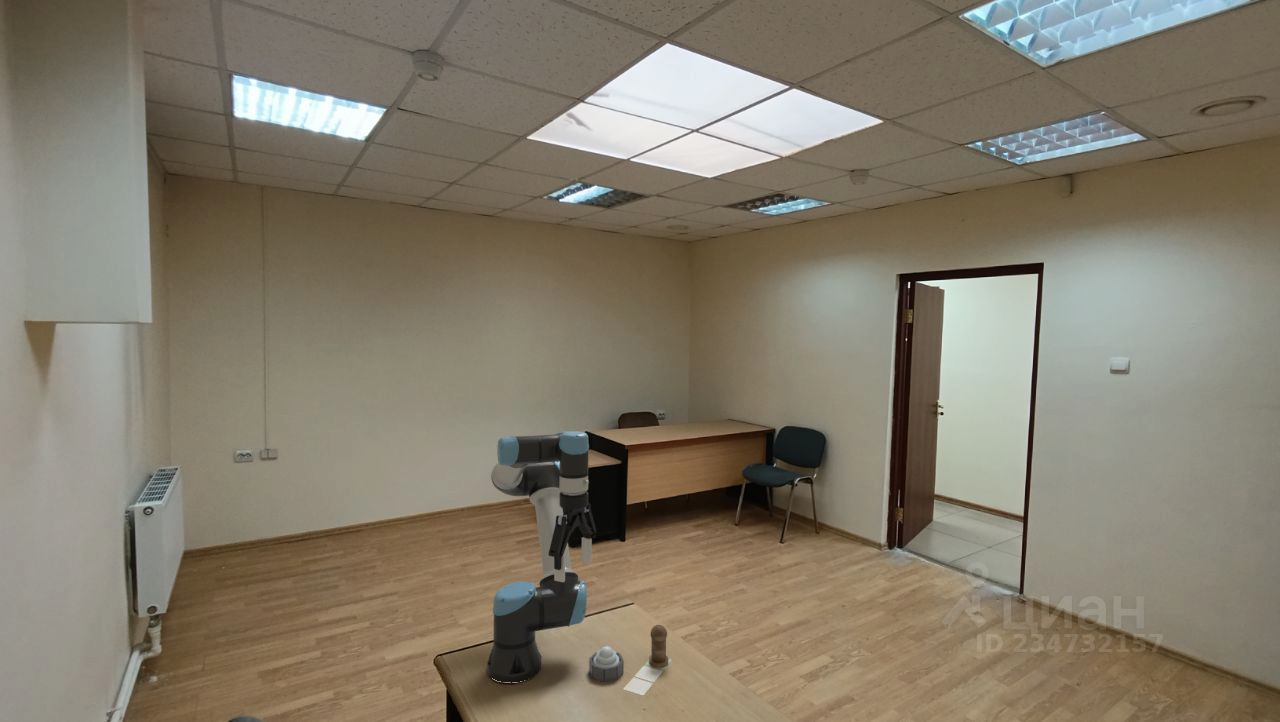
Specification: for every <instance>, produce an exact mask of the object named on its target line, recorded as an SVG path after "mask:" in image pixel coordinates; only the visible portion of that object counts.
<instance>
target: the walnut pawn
mask: <svg viewBox="0 0 1280 722" xmlns="http://www.w3.org/2000/svg"><path fill="white" fill-rule="evenodd" d="M667 637H668V632H667V629H666V627H665V626H664V625H662V624H656V625H654V626H652V628H651V630H650V638H651V644H650V645H651V655H650V656H648V660H649V664H650V665H651V666H653V667H652V668H654V667H656V668H655V669H658V668H662V667H665V666H667V665H668V666H669V664H668V658H669V657H668V656H667ZM651 666H650V667H651ZM668 666H667V667H668Z"/></svg>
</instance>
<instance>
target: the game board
mask: <svg viewBox="0 0 1280 722" xmlns="http://www.w3.org/2000/svg"><path fill="white" fill-rule="evenodd" d="M672 661H673V659H671V658H669V657H668V665H667V666H665V667H662V668H656V667H653V666H651V665H650V664H649V659H648V660H647V662H645V664H644V665H643V666H642V667H641V668H640V669H639V670H638V671H637V672H636V674H635V675H634V677H633V678H632V679H630V681H629V682H628V683H626V685H625V686H624V688H622V690H623V691H624V690H625V691H627V692H630V693H633V694H635V695H640V696H644V695H645V694H646V693H647V692H648V690H650V688H651V687H652V686H653V685H654V683H656V681H657V680H658V678H659V677H660V675H662V673H663V672H664V671H665V669H666V668H667V667H668V666H669V665H670V663H671V662H672Z"/></svg>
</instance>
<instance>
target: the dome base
mask: <svg viewBox="0 0 1280 722" xmlns="http://www.w3.org/2000/svg"><path fill="white" fill-rule="evenodd" d="M615 652H616V655H618V657H619V663H618V664H617V665H616V666H612V667H607V668H603V667H600V666H596V665H594V657H595V656H596V654H597V652H594V653H593V654H592V655H591V656H590V657H589V659H588V660H589V661H588V662H589V663H588V664H589V666H588V667H589V668H588V669H589V670H588V671H589V674H590V676H591V678H592V679H594V680H596V681H599V682H603V683H604V682H605V683H606V682H612V681H617V680H619V678H621V676H622V675H623V674H624V671H625V670H624V669H625V668H624V664H625V662H624V661H625V659H624V658H623V655H622V654H621V652H617V651H615Z"/></svg>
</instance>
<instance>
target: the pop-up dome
mask: <svg viewBox="0 0 1280 722" xmlns="http://www.w3.org/2000/svg"><path fill="white" fill-rule="evenodd" d="M616 652H617V651H615V649H612V647H610V645H609V646H608V645H606V646H603V647H601V649H599V650H597V652H596V653H597V654H596V656H595V657H594V665H596V666H600V667H603V668H607V667H612V666H616V665H617V664H618V663H619V657H618V655H616Z"/></svg>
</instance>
